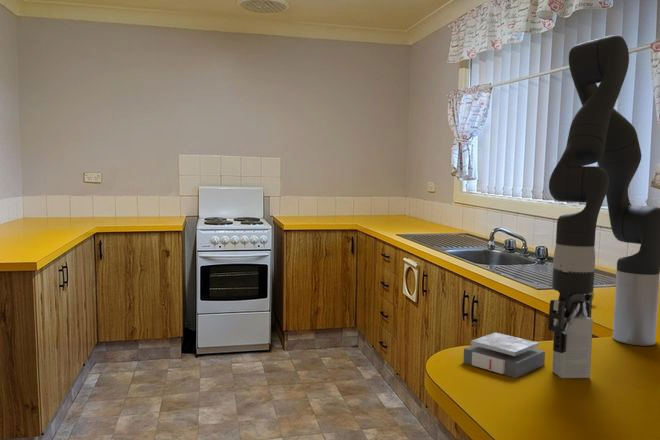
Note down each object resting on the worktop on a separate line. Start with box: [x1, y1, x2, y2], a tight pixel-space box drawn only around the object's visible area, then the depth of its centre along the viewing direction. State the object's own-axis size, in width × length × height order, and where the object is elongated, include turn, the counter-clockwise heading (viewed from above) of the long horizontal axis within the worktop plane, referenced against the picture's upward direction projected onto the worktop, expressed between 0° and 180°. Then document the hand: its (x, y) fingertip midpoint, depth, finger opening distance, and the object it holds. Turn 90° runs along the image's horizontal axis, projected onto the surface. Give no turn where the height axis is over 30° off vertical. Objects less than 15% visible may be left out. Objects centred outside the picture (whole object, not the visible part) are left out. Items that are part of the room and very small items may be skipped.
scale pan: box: [470, 331, 539, 356], centre depth 114 cm, size 10×10×1 cm
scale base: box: [463, 345, 546, 379], centre depth 114 cm, size 13×12×3 cm
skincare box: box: [552, 314, 594, 379], centre depth 108 cm, size 6×4×12 cm
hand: (568, 347), depth 108 cm, fingers open, 8 cm apart
